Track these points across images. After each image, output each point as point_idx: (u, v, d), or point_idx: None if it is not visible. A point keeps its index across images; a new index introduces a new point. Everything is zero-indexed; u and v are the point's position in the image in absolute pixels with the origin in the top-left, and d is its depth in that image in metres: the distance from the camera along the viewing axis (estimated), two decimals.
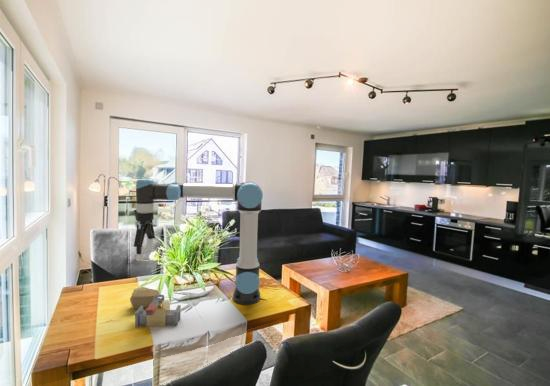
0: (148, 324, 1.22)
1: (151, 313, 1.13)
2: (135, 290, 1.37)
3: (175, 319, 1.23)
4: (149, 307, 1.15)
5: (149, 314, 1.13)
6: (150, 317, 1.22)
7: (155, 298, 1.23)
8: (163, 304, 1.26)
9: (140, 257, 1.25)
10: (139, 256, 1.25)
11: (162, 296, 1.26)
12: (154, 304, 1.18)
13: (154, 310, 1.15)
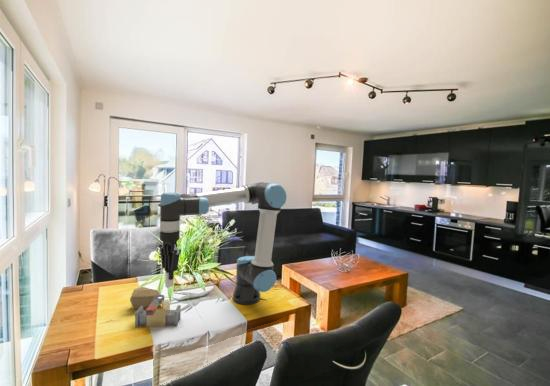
0: (148, 324, 1.22)
1: (151, 313, 1.13)
2: (135, 290, 1.37)
3: (175, 319, 1.23)
4: (149, 307, 1.15)
5: (149, 314, 1.13)
6: (150, 317, 1.22)
7: (155, 298, 1.23)
8: (163, 304, 1.26)
9: None
10: None
11: (162, 296, 1.26)
12: (154, 304, 1.18)
13: (154, 310, 1.15)
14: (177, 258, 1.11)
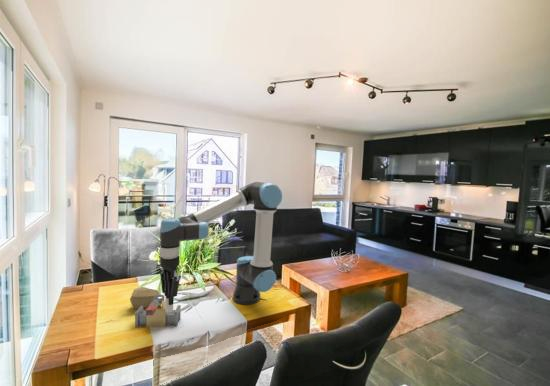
0: (148, 324, 1.22)
1: (151, 313, 1.13)
2: (135, 290, 1.37)
3: (175, 319, 1.23)
4: (149, 307, 1.15)
5: (149, 314, 1.13)
6: (150, 317, 1.22)
7: (155, 298, 1.23)
8: (163, 304, 1.26)
9: None
10: None
11: (162, 296, 1.26)
12: (154, 304, 1.18)
13: (154, 310, 1.15)
14: (177, 284, 1.12)
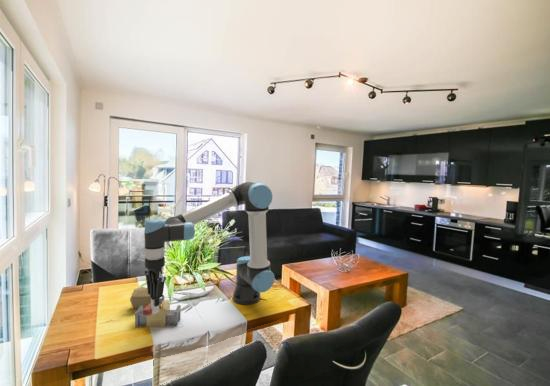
0: (148, 324, 1.22)
1: (148, 313, 1.13)
2: (135, 290, 1.37)
3: (175, 319, 1.23)
4: (147, 307, 1.15)
5: (146, 314, 1.13)
6: (150, 317, 1.22)
7: None
8: (163, 304, 1.26)
9: None
10: None
11: (162, 296, 1.25)
12: None
13: None
14: (162, 285, 1.11)
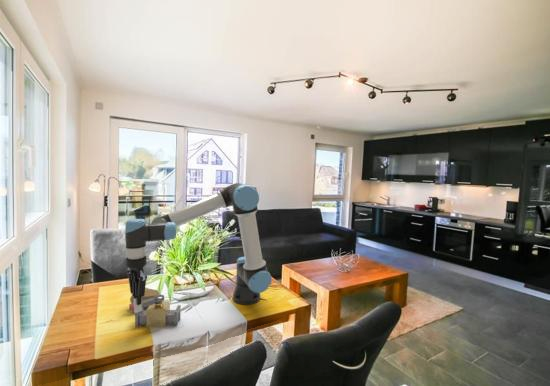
0: (148, 324, 1.22)
1: (131, 309, 1.16)
2: None
3: (175, 319, 1.23)
4: None
5: (130, 310, 1.16)
6: (150, 317, 1.22)
7: (154, 297, 1.25)
8: (163, 304, 1.26)
9: None
10: None
11: (161, 297, 1.24)
12: (143, 302, 1.19)
13: None
14: (144, 284, 1.13)
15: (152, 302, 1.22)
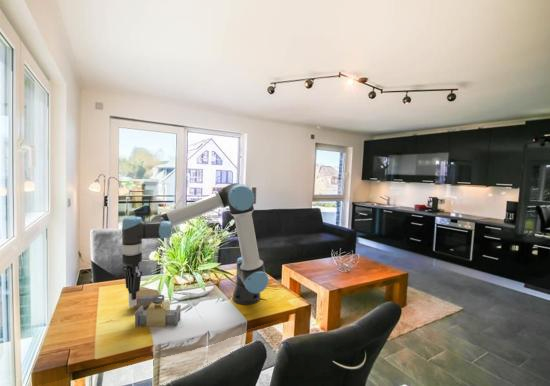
0: (148, 324, 1.22)
1: None
2: None
3: (175, 319, 1.23)
4: None
5: None
6: (150, 317, 1.22)
7: (155, 296, 1.26)
8: (163, 304, 1.26)
9: None
10: None
11: (158, 298, 1.24)
12: (141, 297, 1.24)
13: None
14: (139, 279, 1.17)
15: (150, 300, 1.23)
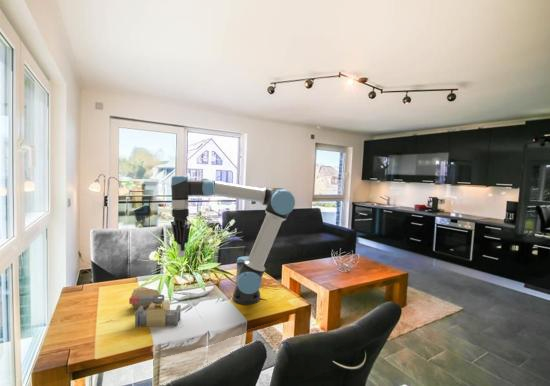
0: (148, 324, 1.22)
1: None
2: (135, 290, 1.37)
3: (175, 319, 1.23)
4: (135, 296, 1.24)
5: None
6: (150, 317, 1.22)
7: (155, 296, 1.26)
8: (163, 304, 1.26)
9: None
10: None
11: (158, 298, 1.24)
12: (141, 297, 1.24)
13: (133, 301, 1.22)
14: (188, 231, 1.29)
15: (150, 300, 1.23)
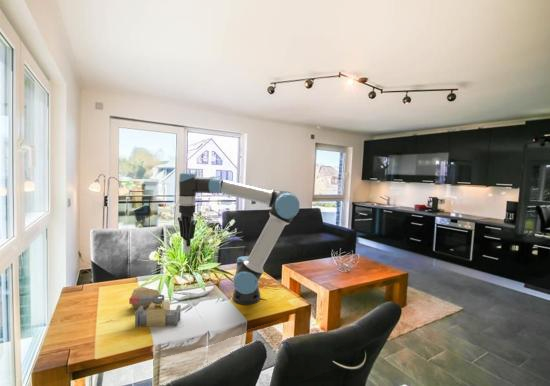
0: (148, 324, 1.22)
1: None
2: (135, 290, 1.37)
3: (175, 319, 1.23)
4: (135, 296, 1.24)
5: None
6: (150, 317, 1.22)
7: (155, 296, 1.26)
8: (163, 304, 1.26)
9: None
10: None
11: (158, 298, 1.24)
12: (141, 297, 1.24)
13: (133, 301, 1.22)
14: (194, 227, 1.32)
15: (150, 300, 1.23)
